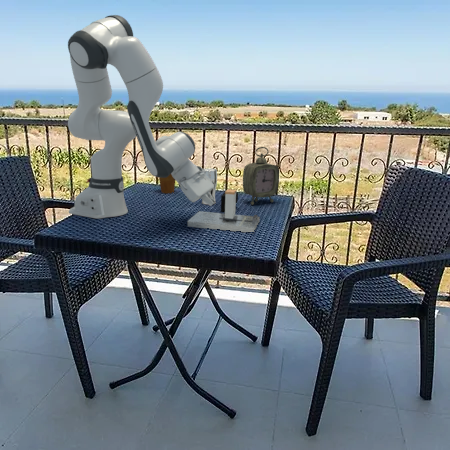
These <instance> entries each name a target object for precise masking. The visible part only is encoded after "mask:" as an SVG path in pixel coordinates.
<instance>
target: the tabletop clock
mask: <svg viewBox="0 0 450 450" xmlns="http://www.w3.org/2000/svg"><path fill="white" fill-rule="evenodd" d="M260 149H265V150H266V152H267V153H265V154H263V153H262V152H261V153H260V154H258V153H257V152H258V150H260ZM254 152H255V153H254V154H255V155H256V156H257V158H256V160H255V162H250V163H247V164H246V165H245V166H244V168H243V173H242V190H243V192H244V194H246V195H249V196H251V199H252V200H251V201H250V205H251V206H253V205H254V204H255V202H256V203H257V202H258V198H267V197H268V198H269V201H270V203H273V202H274V199H273V198H271V197H272V196H274V195H275V196H276V194H277V192H278V188H279V182H280V170H279V166H278V165H276V164H272V163H268V161H267V159H266V158H265V157H266V156H268V154H269V148H267V147H266V146H260V147H257V148H256V149H255V151H254Z"/></svg>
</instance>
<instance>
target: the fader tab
mask: <svg viewBox="0 0 450 450" xmlns="http://www.w3.org/2000/svg"><path fill="white" fill-rule="evenodd" d="M224 192H225V194H226V195H225V212H224V214H225V215H224V216H223V217H222V219H226V220H236V219H237V218H238V216H235V215H236V207H237V206H236V204H237V203H236V193H237V189H230V188H228V189H226V190H225V191H224Z"/></svg>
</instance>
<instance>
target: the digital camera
mask: <svg viewBox="0 0 450 450" xmlns="http://www.w3.org/2000/svg"><path fill="white" fill-rule="evenodd" d="M225 195H226V194H225V191H224V192H223V193H222V194H221V196H220V197H221V198H220V213H225ZM238 200H239V193H238V192H236V204H237V203H238Z"/></svg>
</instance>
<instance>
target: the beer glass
mask: <svg viewBox="0 0 450 450" xmlns="http://www.w3.org/2000/svg"><path fill="white" fill-rule="evenodd" d="M202 169H203V172H204V173H205V174H206V175H207V176H208V178H209V179H210V180H211V181H212V183H213V184H214V188H213V189H212V190H211V191H210V194H211V195H212V197H213V199H214V200H215V203H214V204H213V205H215V204H216V203H217V202H216V189H217V185H218V170H217V169H216V168H202ZM201 204H203V205H206V206H209V205H208V203H206V202H205V201H203V200H202V199H201Z"/></svg>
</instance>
